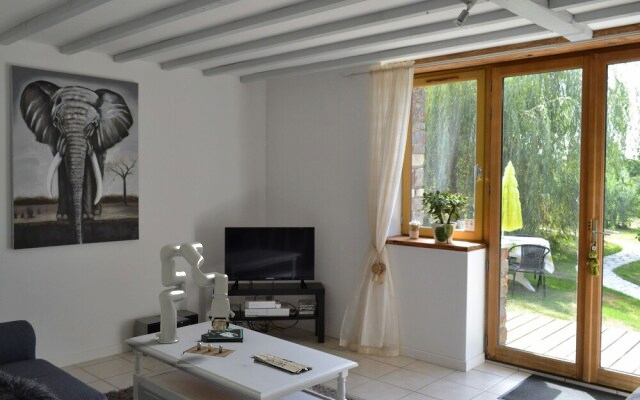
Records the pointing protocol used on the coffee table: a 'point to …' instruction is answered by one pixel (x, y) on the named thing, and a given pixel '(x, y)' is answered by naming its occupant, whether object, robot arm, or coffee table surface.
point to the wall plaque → (223, 336)
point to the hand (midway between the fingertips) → (220, 327)
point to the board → (205, 351)
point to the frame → (219, 325)
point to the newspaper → (281, 362)
